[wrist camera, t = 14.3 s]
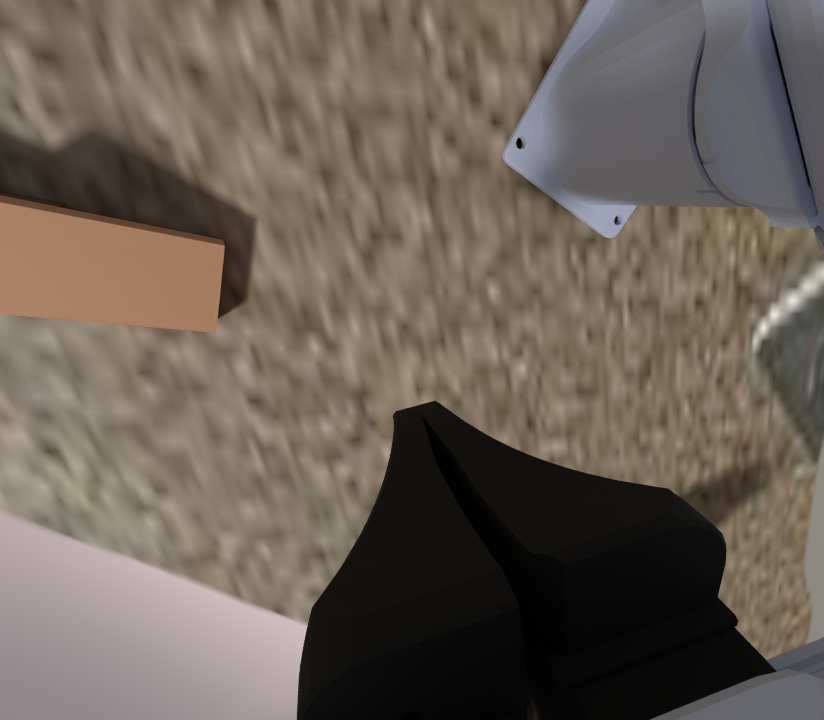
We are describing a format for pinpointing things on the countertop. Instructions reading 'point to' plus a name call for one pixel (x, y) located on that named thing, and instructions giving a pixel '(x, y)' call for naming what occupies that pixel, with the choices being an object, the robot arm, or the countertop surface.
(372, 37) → the countertop surface
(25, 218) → the domino
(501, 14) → the countertop surface
